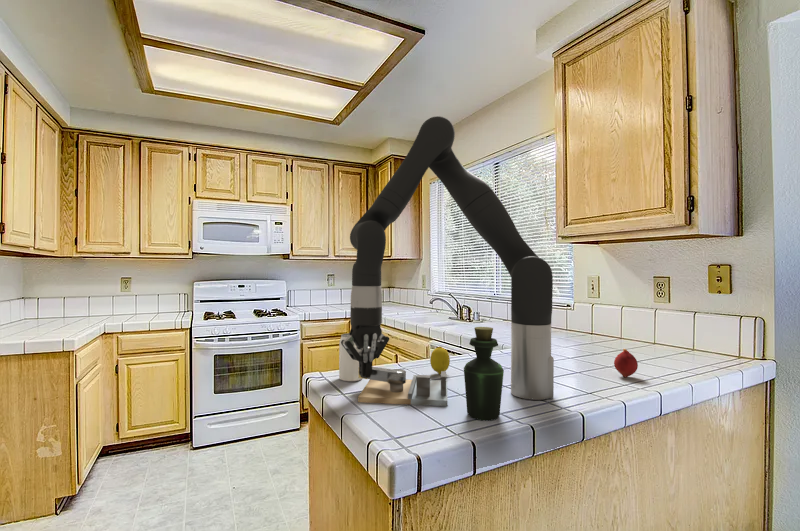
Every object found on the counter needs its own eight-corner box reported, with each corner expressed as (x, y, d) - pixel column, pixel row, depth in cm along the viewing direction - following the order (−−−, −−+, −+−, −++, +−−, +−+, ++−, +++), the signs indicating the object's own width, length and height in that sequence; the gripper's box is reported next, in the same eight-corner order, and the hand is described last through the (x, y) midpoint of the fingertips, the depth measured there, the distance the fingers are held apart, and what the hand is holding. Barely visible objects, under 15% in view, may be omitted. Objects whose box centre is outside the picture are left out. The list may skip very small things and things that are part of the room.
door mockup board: (447, 385, 107) (447, 364, 107) (447, 406, 91) (447, 381, 91) (370, 382, 109) (371, 361, 109) (358, 402, 93) (358, 377, 93)
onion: (638, 376, 117) (638, 348, 117) (637, 381, 112) (637, 351, 112) (615, 373, 120) (615, 346, 120) (613, 378, 115) (613, 349, 115)
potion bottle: (512, 417, 84) (512, 329, 84) (482, 425, 80) (483, 332, 80) (483, 406, 91) (484, 324, 91) (455, 413, 86) (455, 327, 86)
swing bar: (409, 381, 99) (409, 370, 99) (400, 385, 95) (400, 374, 95) (366, 374, 105) (366, 364, 105) (356, 378, 101) (356, 368, 101)
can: (358, 382, 109) (359, 337, 109) (335, 381, 110) (336, 336, 110) (365, 376, 115) (366, 333, 115) (343, 375, 116) (344, 332, 116)
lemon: (428, 372, 120) (429, 344, 120) (447, 371, 121) (447, 344, 121) (431, 377, 115) (432, 348, 115) (451, 376, 115) (451, 348, 115)
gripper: (379, 302, 106) (378, 370, 106) (334, 304, 97) (333, 378, 97) (397, 304, 100) (396, 376, 100) (351, 307, 92) (350, 385, 91)
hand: (365, 377), depth 98 cm, fingers closed
